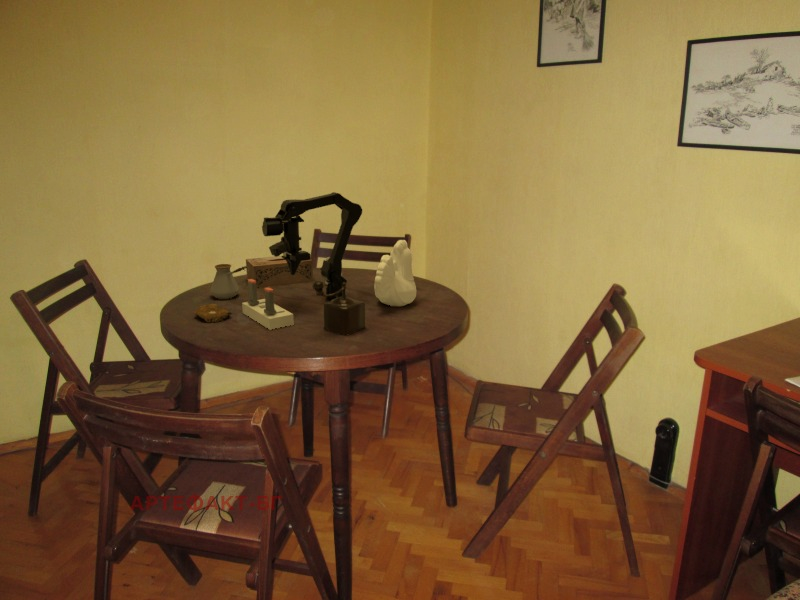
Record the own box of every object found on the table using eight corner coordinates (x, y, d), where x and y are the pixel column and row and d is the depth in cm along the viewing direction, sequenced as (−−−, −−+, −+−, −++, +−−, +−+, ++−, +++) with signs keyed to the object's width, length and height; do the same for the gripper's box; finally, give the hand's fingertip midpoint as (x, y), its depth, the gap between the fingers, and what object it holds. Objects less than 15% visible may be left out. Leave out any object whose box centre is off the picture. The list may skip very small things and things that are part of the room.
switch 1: (255, 301, 224) (253, 278, 222) (259, 303, 221) (257, 280, 219) (247, 302, 222) (245, 279, 220) (251, 305, 220) (250, 282, 217)
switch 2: (271, 310, 213) (270, 286, 211) (276, 313, 211) (275, 289, 208) (263, 312, 212) (262, 288, 209) (268, 315, 209) (267, 290, 206)
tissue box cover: (303, 274, 281) (302, 253, 278) (313, 282, 268) (312, 260, 266) (247, 281, 270) (245, 259, 267) (255, 289, 258) (253, 266, 255)
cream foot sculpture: (393, 294, 250) (394, 234, 242) (425, 301, 241) (426, 239, 233) (353, 309, 231) (352, 244, 223) (385, 317, 221) (385, 250, 214)
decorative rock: (187, 317, 222) (208, 328, 213) (185, 306, 221) (207, 317, 211) (214, 308, 230) (237, 318, 221) (213, 298, 229) (235, 308, 219)
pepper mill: (342, 321, 217) (341, 272, 212) (366, 327, 211) (365, 277, 205) (311, 333, 205) (309, 281, 200) (335, 340, 199) (334, 287, 194)
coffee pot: (204, 297, 245) (201, 260, 240) (228, 291, 253) (226, 256, 249) (237, 307, 232) (234, 269, 228) (261, 300, 240) (259, 263, 236)
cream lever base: (265, 308, 230) (264, 297, 229) (293, 324, 213) (293, 313, 212) (242, 313, 225) (242, 302, 224) (269, 330, 208) (269, 318, 206)
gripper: (260, 232, 229) (262, 272, 234) (282, 240, 215) (284, 283, 220) (287, 229, 236) (288, 269, 240) (310, 237, 222) (311, 278, 226)
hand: (292, 274), depth 231 cm, fingers closed
